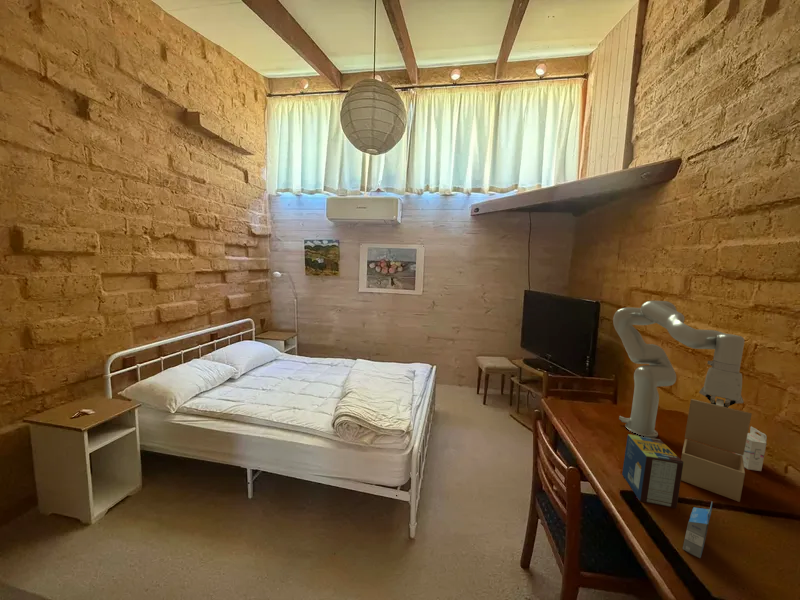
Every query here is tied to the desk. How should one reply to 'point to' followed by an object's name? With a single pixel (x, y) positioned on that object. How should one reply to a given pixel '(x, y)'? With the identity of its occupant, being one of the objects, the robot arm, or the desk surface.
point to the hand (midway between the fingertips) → (717, 413)
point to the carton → (713, 469)
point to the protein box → (652, 470)
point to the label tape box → (697, 531)
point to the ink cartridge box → (754, 450)
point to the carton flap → (718, 425)
